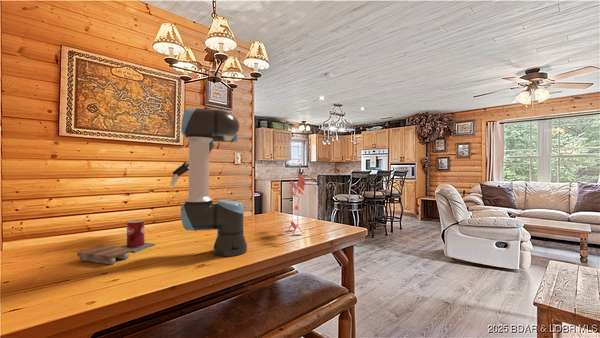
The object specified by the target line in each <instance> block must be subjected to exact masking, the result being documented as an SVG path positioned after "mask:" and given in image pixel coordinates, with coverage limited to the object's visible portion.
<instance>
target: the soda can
mask: <svg viewBox="0 0 600 338" xmlns="http://www.w3.org/2000/svg"><path fill="white" fill-rule="evenodd" d="M145 225H146V224H145V220H144V219H131V220H128V221H127V222H126V245H127V247H128V248H137V247H141V246H143V245H144V244H145V243H146V242H145V238H146V237H145Z"/></svg>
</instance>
